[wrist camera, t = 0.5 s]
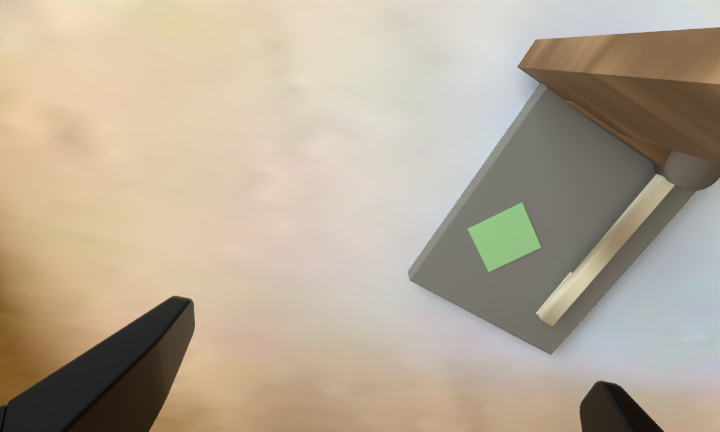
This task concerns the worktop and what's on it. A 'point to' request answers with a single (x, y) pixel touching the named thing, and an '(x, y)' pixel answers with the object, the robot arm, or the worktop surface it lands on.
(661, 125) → the pull lever
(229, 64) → the worktop surface
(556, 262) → the gray rectangular base plate
